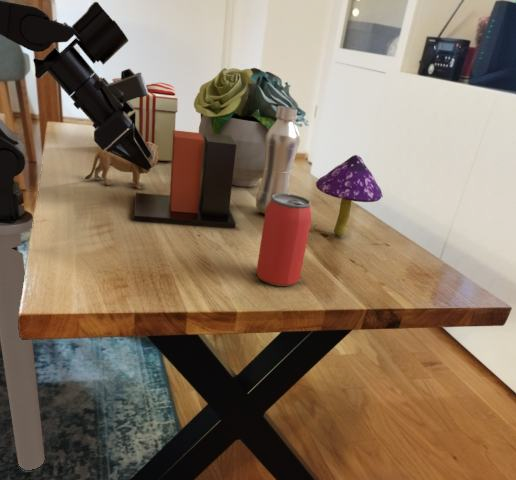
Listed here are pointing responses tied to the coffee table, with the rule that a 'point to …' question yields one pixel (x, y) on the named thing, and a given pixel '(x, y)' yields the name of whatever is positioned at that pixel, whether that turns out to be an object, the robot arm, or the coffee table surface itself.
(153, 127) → the gift box
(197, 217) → the seat plate
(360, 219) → the coffee table surface
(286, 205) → the beer can
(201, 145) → the tall terracotta column
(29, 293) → the coffee table surface
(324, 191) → the decorative mushroom
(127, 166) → the lion figurine
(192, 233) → the coffee table surface
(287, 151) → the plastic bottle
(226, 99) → the flower arrangement
